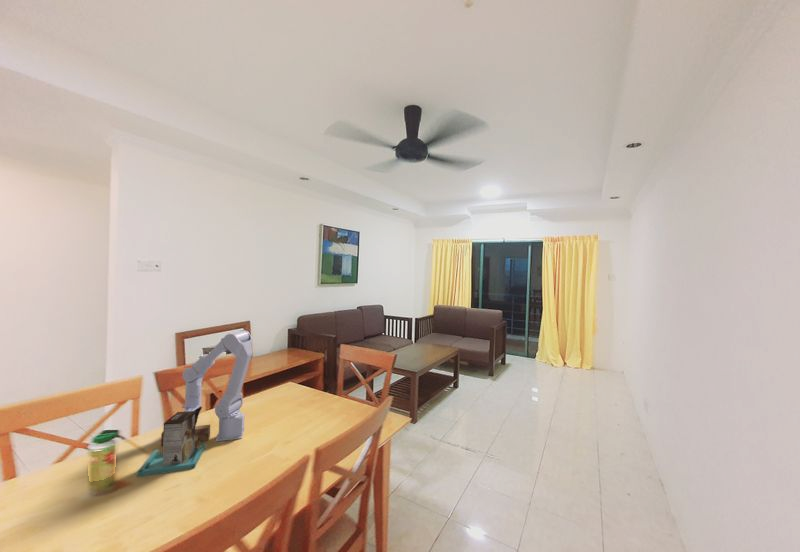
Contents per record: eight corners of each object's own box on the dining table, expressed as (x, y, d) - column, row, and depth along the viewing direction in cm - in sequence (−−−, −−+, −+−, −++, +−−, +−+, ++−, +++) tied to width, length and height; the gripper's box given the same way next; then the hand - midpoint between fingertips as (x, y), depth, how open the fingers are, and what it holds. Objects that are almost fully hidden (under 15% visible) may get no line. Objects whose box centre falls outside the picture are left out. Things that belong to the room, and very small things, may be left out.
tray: (205, 448, 120) (205, 443, 120) (194, 468, 107) (194, 463, 107) (154, 454, 115) (154, 450, 114) (137, 477, 102) (137, 472, 102)
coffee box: (176, 453, 115) (177, 411, 115) (195, 452, 116) (196, 410, 116) (161, 468, 106) (163, 422, 106) (182, 467, 107) (183, 422, 107)
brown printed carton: (210, 436, 127) (210, 424, 127) (203, 449, 118) (203, 436, 118) (164, 442, 122) (164, 429, 122) (153, 456, 113) (153, 443, 113)
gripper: (188, 389, 136) (187, 419, 136) (176, 402, 123) (175, 436, 123) (206, 387, 139) (205, 417, 139) (196, 400, 125) (195, 433, 125)
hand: (192, 426), depth 131 cm, fingers closed
